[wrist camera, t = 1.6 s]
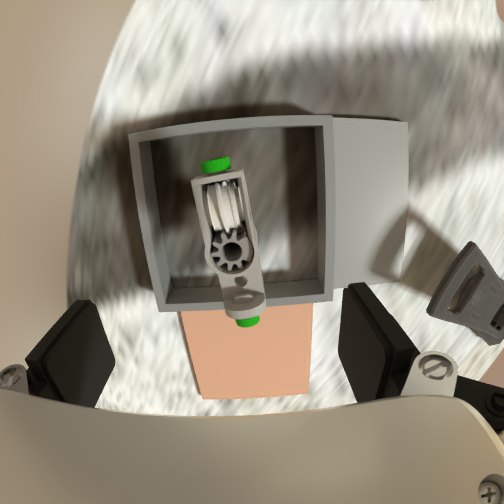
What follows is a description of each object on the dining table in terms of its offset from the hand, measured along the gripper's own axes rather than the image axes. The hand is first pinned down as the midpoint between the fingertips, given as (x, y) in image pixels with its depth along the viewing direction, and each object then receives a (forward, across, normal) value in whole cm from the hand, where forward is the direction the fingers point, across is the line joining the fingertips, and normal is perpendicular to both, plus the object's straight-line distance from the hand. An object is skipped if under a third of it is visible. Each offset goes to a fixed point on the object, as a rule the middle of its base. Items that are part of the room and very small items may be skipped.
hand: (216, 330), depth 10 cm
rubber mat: (+17, 0, +15) cm, 22 cm away
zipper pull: (+17, -29, +11) cm, 35 cm away
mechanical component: (+17, 0, -1) cm, 17 cm away
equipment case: (+17, -4, -1) cm, 17 cm away
